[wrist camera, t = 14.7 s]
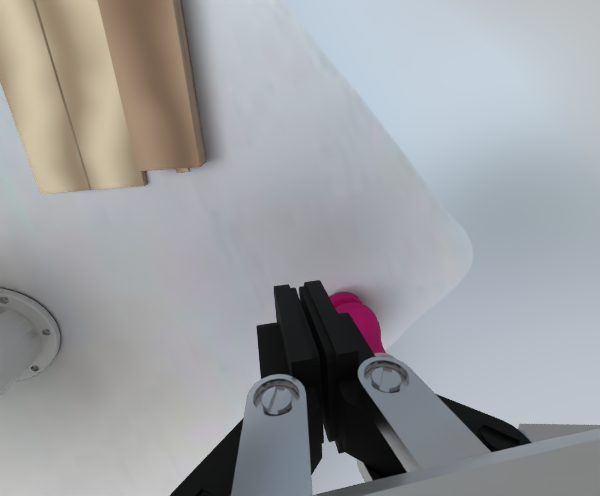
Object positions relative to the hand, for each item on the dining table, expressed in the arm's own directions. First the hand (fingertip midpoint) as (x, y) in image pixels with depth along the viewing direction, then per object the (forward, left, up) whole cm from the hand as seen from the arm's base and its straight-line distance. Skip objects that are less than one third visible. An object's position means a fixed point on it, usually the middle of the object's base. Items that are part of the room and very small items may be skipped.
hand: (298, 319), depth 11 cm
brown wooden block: (-8, +12, -27) cm, 31 cm away
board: (-15, +12, -27) cm, 33 cm away
